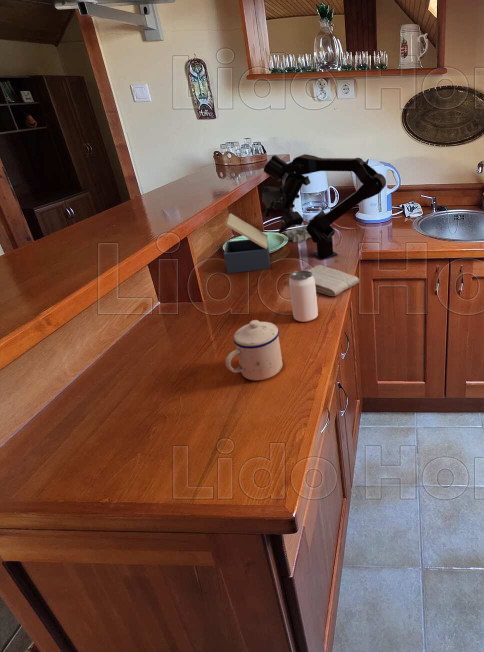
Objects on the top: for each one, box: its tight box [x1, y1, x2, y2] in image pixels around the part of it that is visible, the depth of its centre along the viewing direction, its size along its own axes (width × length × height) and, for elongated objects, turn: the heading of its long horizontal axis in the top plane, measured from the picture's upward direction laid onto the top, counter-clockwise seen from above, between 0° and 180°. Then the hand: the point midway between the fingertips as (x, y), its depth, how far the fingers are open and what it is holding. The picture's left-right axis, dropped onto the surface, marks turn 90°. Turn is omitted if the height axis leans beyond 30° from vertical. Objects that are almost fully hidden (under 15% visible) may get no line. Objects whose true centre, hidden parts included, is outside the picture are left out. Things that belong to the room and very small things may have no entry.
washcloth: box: [307, 264, 360, 297], centre depth 128 cm, size 12×18×3 cm, turn 54°
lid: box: [225, 213, 269, 249], centre depth 140 cm, size 14×13×1 cm
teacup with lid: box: [225, 319, 283, 381], centre depth 87 cm, size 12×9×12 cm
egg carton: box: [284, 224, 312, 243], centre depth 167 cm, size 11×8×4 cm
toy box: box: [223, 238, 271, 274], centre depth 143 cm, size 14×13×7 cm
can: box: [288, 270, 319, 323], centre depth 108 cm, size 6×6×12 cm
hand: (273, 224), depth 150 cm, fingers open, 9 cm apart
